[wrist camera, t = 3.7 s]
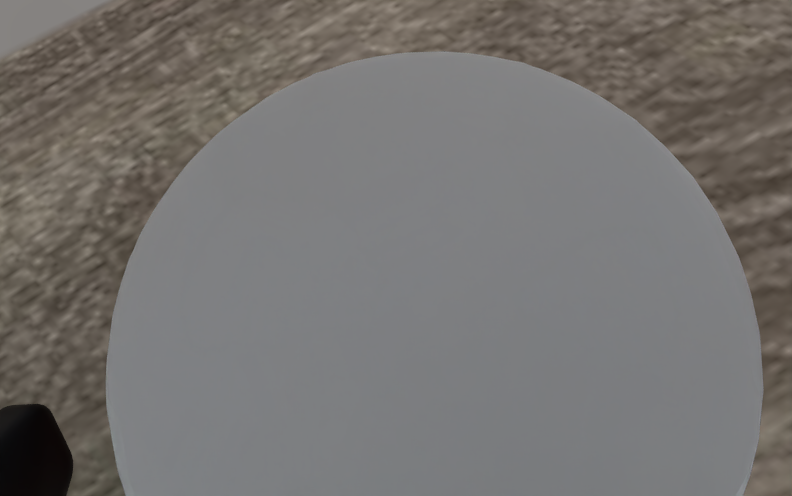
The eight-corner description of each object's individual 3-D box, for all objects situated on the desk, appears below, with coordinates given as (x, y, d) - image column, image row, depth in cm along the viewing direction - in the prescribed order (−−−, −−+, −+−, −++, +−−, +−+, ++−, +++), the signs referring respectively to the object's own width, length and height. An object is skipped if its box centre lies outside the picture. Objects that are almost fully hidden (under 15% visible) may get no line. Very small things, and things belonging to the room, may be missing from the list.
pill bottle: (284, 494, 15) (-159, 619, 5) (378, 239, 17) (192, -107, 6) (560, 607, 14) (777, 1104, 4) (640, 321, 16) (974, 67, 5)
